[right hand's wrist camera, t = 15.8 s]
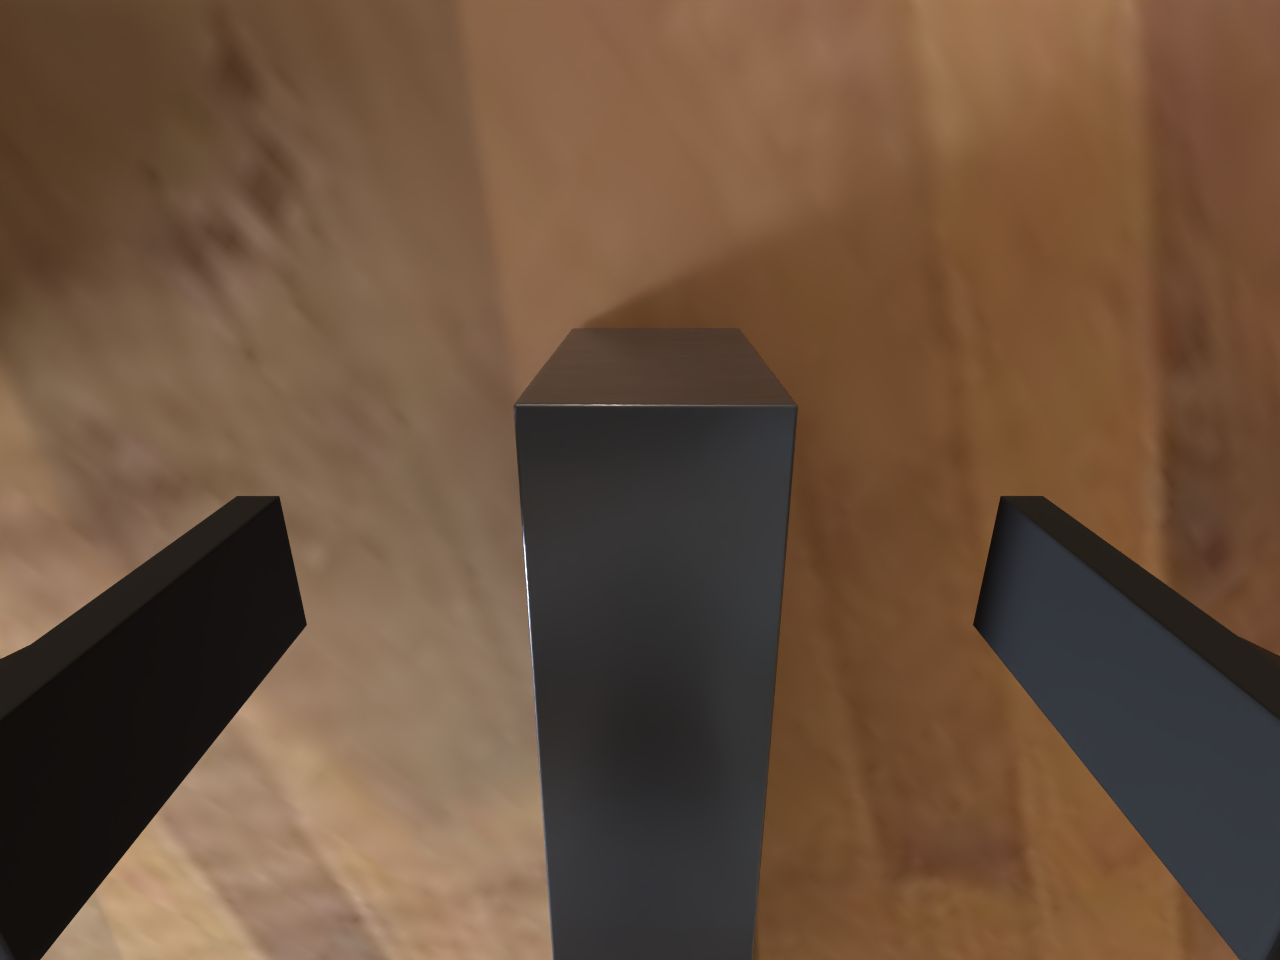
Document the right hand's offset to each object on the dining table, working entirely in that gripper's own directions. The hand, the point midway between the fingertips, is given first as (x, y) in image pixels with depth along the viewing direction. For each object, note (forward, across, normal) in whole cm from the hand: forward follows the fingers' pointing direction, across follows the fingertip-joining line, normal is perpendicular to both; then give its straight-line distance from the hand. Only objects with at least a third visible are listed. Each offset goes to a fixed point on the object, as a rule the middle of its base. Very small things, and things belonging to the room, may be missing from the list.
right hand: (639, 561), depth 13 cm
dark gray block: (+7, 0, -12) cm, 14 cm away
